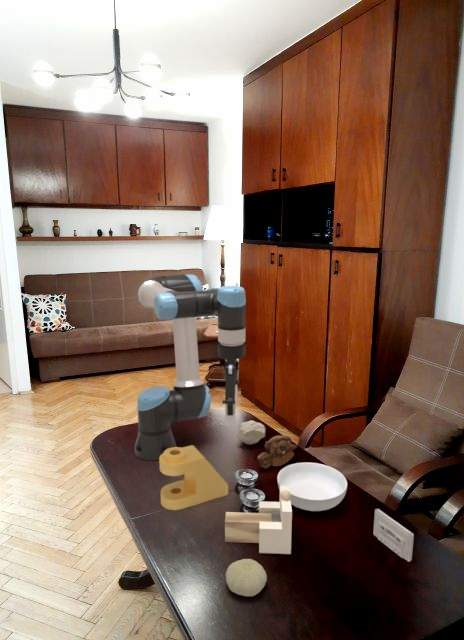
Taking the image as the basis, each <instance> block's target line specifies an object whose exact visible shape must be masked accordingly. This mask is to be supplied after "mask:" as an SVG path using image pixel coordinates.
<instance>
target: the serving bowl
mask: <svg viewBox="0 0 464 640" xmlns="http://www.w3.org/2000/svg"><path fill="white" fill-rule="evenodd" d="M276 480H277V486H278V490H279V491H280V486H289V492H290V494H291V497H290V500H291V506H294V507H295V508H299V509H301V510H303V511H304V510H305V511H310V512H322V511H328V510H330V509H332V508H335V507H336V506H338V505H339V504H341V502H342V501H343V499H344V498H345V496H346V493H347V490H348V481H347V478H346V477H345V476H344V474H343V473H342V472H340V471H339V470H337V469H336V468H334V467H331V466H329V465H326V464H322V463H318V462H296V463H291V464H288V465H286V466H285V467H283V468H281V469H280V470H279V472H278V474H277V477H276Z"/></svg>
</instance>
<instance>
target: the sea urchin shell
mask: <svg viewBox="0 0 464 640" xmlns="http://www.w3.org/2000/svg"><path fill="white" fill-rule="evenodd" d="M267 580H268V576H267V573H266V570H265V569H264V567H263V566H262V565H261V564H260V563H259V562H258V561H256V560H254V559H252V558H243V559H239V560H236V561H233V562H231V563H230V564H229V566H228V567H227V570H226V572H225V581H226V585H227V586H228V589H229V590H230V591H231V592H232V593H235V594H237V595H239V596H243V597H254V596H256V595H257V594H259V593H260V592H261V591H262V589H264V587H265V586H266V583H267Z"/></svg>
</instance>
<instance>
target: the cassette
mask: <svg viewBox="0 0 464 640" xmlns="http://www.w3.org/2000/svg"><path fill="white" fill-rule="evenodd" d="M373 517H374V519H373V536H374V537H376V538H377V540H378V541H380V542H381V543H382V544H383V545H385V546H386V547H387V548H388V549H390V550H391V551H392V552H394V553H395V554H396V555H397V556H399V557H400V558H401V559H404V560H406V561H407V562H409V563H410V562H411V561H412V560H413V559H412V558H413V548H414V539H415V538H414V537H415V535H414V533H413V532H412V531H410V530H409V529H407V528H406V527H404V526H403V525H402V524H400V523H399V522H398V521H396V520H394V519H393V518H392V517H390V516H389V515H388V514H387V513H385V512H384V511H382V510H381V509H380V508H375V509H374V516H373Z"/></svg>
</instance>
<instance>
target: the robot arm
mask: <svg viewBox="0 0 464 640" xmlns="http://www.w3.org/2000/svg"><path fill="white" fill-rule="evenodd" d="M135 292H136V293H135V296H136V299H137V300H138V302H139V304H140V305H141V306H142V307H145V308H147V309H154V313H155V316H156V318H157V319H158V320H168V321H170V320H171V321H172V330H173V344H174V358H175V359H174V360H175V373H176V374H175V375H176V381H175V382H174V383H173V385H172V387H173V389H172V390H170V388H169V387H166V386H160V385H159V386H153V387H149V388H146V389H144V390H142V391H141V392H140V393H139V394H138V396H137V399H136V400H137V403H136V410H137V423H138V425H137V427H138V434H137V437H136V440H135V444H134V454H135V456H136V457H137V458H139V459H141V460H144V461H159V457H160V456H161V454H163V453H164V451H165V450H166V449H168V448H172V447H177V443H176V440H175V437H174V435H173V432H172V428H171V427H172V426H171V425H172V424H171V423H175V422H176V423H179V422H183V421H189V420H197V419H200V418H204V417H206V416H207V415H208V414H209V412H210V409H211V402H212V396H211V393H210V392H211V391H210V388H209V386H207V385H205V381H204V380H202V379H201V377H200V376H201V375H200V361H199V351H198V350H199V348H198V335H197V333H198V332H197V321H196V320H197V318H205V317H217V330H216V331H215V334H216V335H217V337H218V338H217V341H218V344H217V356H218V357H219V358H220V359H223V360H226V361H224V364H223V369H224V380H225V389H224V390H225V392H224V393H225V395H224V399H225V400H222V404H224V405H225V406H224V407H225V408H224V409H225V410H224V413H225V415H224V424H225V425H224V426H228V427H233V426H236V407H238V385H240V379H239V377H238V372H239V367H240V365H239V364H240V361H238V360H240V359H243V358H245V356H246V344H245V342H246V303H247V300H246V299H247V298H246V290H245V289H244V287H243V286H236V285H227V286H226V285H224V286H221V287H219V288H214V287H212V288H211V287H210V288H208V289H205V290H204V289H203V286H202V283H201V281H200V279H199V277H197V276H196V275H195V274H185V273H183V274H169V275H168V274H167V275H155V276H149V277H147V278H145V279H144V280H142V281H141V282H140V283H139V284H138V286H137V288H136V291H135Z"/></svg>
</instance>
